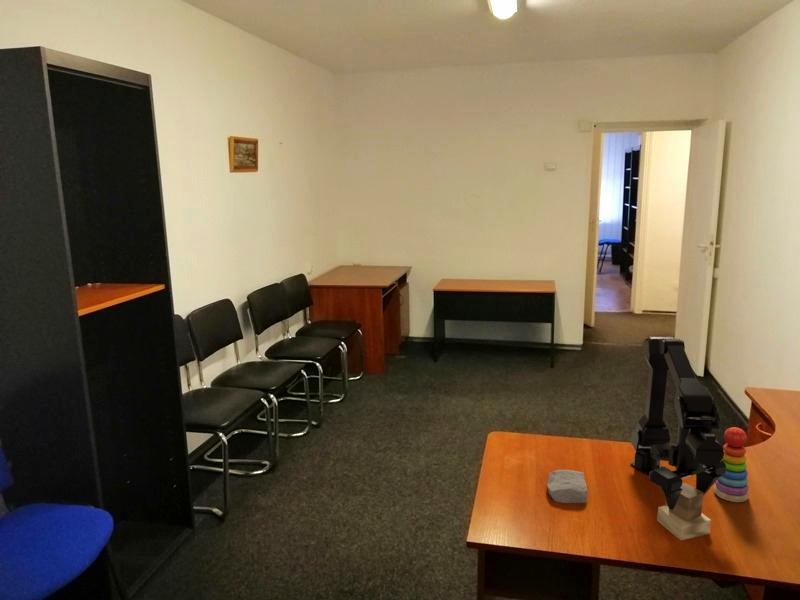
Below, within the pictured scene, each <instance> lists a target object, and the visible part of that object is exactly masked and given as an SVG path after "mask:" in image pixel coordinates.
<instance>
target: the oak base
mask: <svg viewBox="0 0 800 600" xmlns="http://www.w3.org/2000/svg"><path fill="white" fill-rule="evenodd" d="M656 519H657V520H656V521H657V522H658V523H659V524H661V525H662V526H663V527H664V528H665V529H666V530H668V531H669V532H670V533H671V534H672V535H674V536H675V537H676V538H677V539H678V540H680V541H684V540H688V539H693V538H697V537H698V538H699V537H703V536H706V535H710V534H711V533H710V531H711V522H712V519H711V518H709V517H708V516H706V515H705V514H704V513H702V514H701V516H699V517H697V518H694V519H692V520H690V521H688V522H687V521H685V520H683V519H682V518H680V517H678V516H676V515H675V514H673V513H671V512H670V511H669V508H668V505H662V506H658V509H657V517H656Z"/></svg>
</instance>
